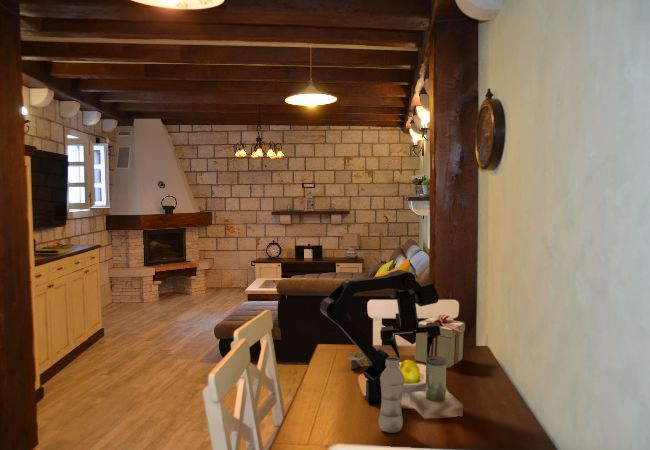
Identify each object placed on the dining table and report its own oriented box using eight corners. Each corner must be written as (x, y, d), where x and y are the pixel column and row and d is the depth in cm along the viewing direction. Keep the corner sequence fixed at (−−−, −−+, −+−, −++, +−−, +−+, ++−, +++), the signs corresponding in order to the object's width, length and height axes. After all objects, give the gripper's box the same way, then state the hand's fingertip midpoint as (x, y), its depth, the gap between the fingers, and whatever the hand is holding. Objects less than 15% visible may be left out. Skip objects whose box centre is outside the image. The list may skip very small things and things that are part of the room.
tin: (434, 402, 159) (435, 362, 159) (421, 396, 164) (421, 357, 164) (450, 399, 162) (450, 359, 162) (436, 393, 167) (436, 354, 167)
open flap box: (383, 365, 206) (384, 348, 205) (360, 378, 191) (361, 360, 190) (356, 360, 212) (356, 343, 212) (332, 372, 197) (332, 354, 197)
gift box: (459, 370, 201) (461, 325, 200) (412, 362, 210) (414, 318, 209) (471, 359, 215) (473, 316, 214) (427, 351, 225) (428, 310, 224)
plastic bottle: (376, 425, 151) (378, 355, 150) (399, 425, 151) (401, 355, 150) (380, 436, 144) (382, 363, 143) (405, 435, 145) (407, 362, 144)
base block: (424, 418, 156) (424, 406, 156) (409, 402, 168) (410, 391, 168) (462, 416, 159) (462, 404, 158) (445, 400, 170) (446, 390, 170)
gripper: (435, 300, 177) (441, 346, 178) (379, 306, 180) (385, 351, 181) (437, 309, 166) (443, 358, 167) (377, 314, 169) (383, 362, 170)
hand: (413, 357), depth 172 cm, fingers open, 9 cm apart
